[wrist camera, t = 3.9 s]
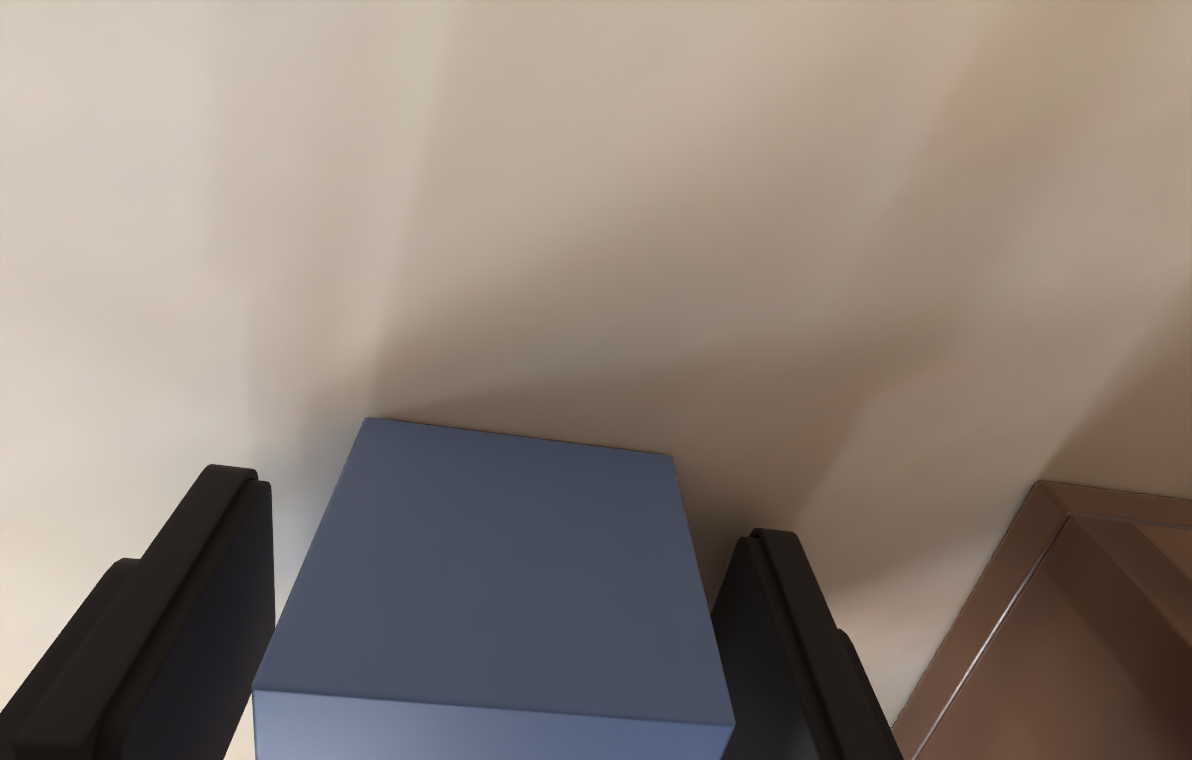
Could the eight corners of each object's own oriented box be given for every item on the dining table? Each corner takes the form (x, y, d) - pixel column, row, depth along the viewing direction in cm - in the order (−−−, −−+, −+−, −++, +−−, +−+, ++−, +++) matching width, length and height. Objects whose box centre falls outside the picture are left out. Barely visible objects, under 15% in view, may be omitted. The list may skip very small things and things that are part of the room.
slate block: (355, 636, 12) (264, 942, 8) (364, 414, 10) (249, 686, 6) (613, 659, 12) (639, 956, 9) (672, 453, 10) (738, 724, 7)
